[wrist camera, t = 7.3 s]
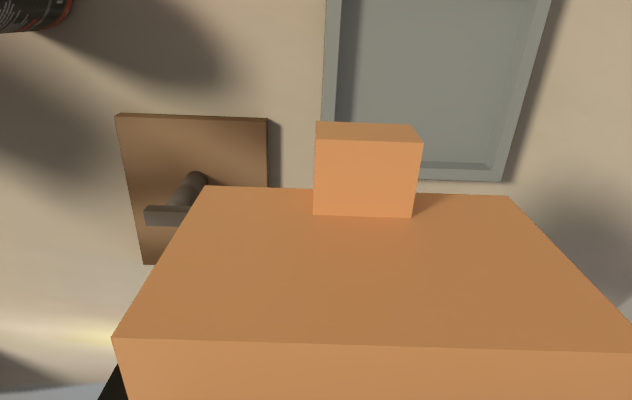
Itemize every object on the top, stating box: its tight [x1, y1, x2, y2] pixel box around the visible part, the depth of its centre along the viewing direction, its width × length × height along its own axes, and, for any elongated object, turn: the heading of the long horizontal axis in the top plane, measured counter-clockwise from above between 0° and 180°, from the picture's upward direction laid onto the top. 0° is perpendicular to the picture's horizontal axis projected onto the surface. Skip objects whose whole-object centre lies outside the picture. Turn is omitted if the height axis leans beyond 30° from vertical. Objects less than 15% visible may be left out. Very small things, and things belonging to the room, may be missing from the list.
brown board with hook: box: [114, 113, 268, 265], centre depth 26 cm, size 12×10×6 cm
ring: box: [111, 121, 632, 400], centre depth 8 cm, size 9×7×4 cm
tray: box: [321, 0, 552, 182], centre depth 25 cm, size 13×13×2 cm
